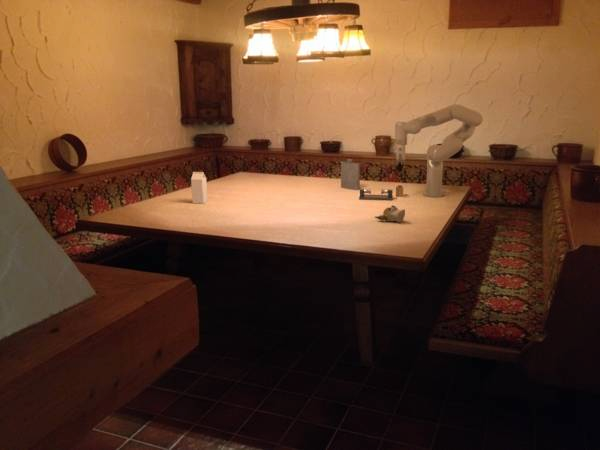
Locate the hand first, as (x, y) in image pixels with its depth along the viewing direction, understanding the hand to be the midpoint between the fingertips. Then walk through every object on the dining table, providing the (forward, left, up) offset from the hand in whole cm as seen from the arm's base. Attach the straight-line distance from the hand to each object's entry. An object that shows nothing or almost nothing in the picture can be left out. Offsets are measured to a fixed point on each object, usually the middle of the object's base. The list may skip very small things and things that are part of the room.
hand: (399, 169), depth 329 cm
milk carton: (+120, +33, -17) cm, 125 cm away
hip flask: (+34, -21, -17) cm, 43 cm away
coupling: (0, 0, -17) cm, 17 cm away
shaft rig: (+14, +9, -17) cm, 23 cm away
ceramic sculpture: (+2, +63, -17) cm, 65 cm away
